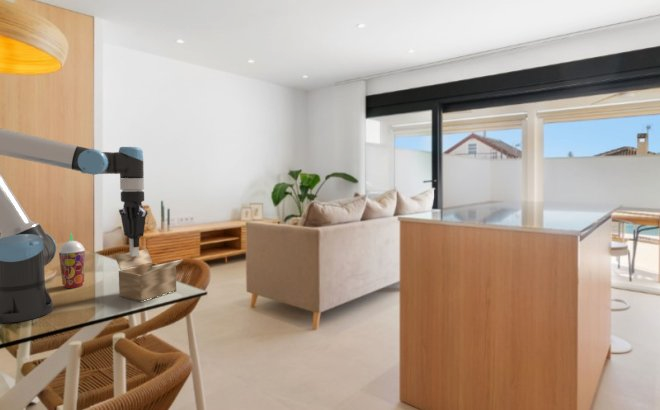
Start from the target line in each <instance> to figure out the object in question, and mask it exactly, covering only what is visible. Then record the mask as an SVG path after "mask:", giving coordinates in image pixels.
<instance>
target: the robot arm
mask: <svg viewBox="0 0 660 410" xmlns="http://www.w3.org/2000/svg"><path fill="white" fill-rule="evenodd" d="M143 153H144V152H143V150H142V148H140V147H136V146H121V147H119V149H118V151H116V152H115V151H114V152H110V151H108V152H107V151H101V150H98V149H93V148H88V147H83V146H78V145H75V144H71V143H70V144H69V143H65V142H61V141H57V140H54V139H53V140H52V139H48V138H44V137H41V136H40V137H39V136H36V135H31V134H27V133H23V132H22V133H21V132H18V131H14V130H9V129H5V128H0V156H3V157H9V158H14V159H19V160H24V161H29V162H34V163H39V164H43V165H47V166H54V167H57V168H63V169H67V170H73V171H76V172H80V173H81V174H88V175H108V174H111V175H113V174H115V175H116V174H117V175H119V180H120V181H119V183H120V184H119V186H120V190H121V191H120V202H122V203H123V208H122V209H118V212H119V215H120V218H121V223H122V224H121V225H122V228H123V235H124V237H127V238H128V246H129V252H130V256H131V257H134V256H139V251H140V238H141V237H144V233H145V227H146V219H147V218H146V217H147V215H148V210H144V209H143V203H142V202H144V201H145V191H144V189H145V187H144V186H145V183H144V174H145V173H144V155H143ZM13 192H14V191H12V188H10V186H9V184H8V183H7V181H6V179H4V177H3V176H2V174H1V173H0V324H8V323H19V322H24V321H29V320H34V319H37V318H40V317H43V316H45V315H48V314H50V313H51V312H52V311H53V309H54V302H53V300H52V299H53V298H52V297H51V296H50V294H49V291H48V289H47V286H46V281H45V278H46V277H45V274H46V273H45V266H47V265H49V264H50V263H51V262H52V261H53V259H54V258H55V255H56V253H57V243H56V241H55V239H54V238H53V237H52V236H51V235H49V234H48V233H46V232H45V231H44V229H43V227H42V226H41V224H40V223H38V222H34V221H32V220H31V219H30V217H29V215H28V214H27V213H26V211H25V209H24V207H23V206H22V205H21V203H20V202H19V200H18V198H17V197H16V196H15V194H14V193H13Z"/></svg>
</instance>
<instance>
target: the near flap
mask: <svg viewBox="0 0 660 410" xmlns="http://www.w3.org/2000/svg"><path fill="white" fill-rule="evenodd" d="M183 261H184V259H183V258H181V259H178V260H173V261H169V262H165V263H161V264H160V263H159V264H160V265H155V266H152V267H151V268H149V269H148V270H147V271H146V272H145V273H144V274H143V275H146V274H150V273H154V272H158V271H162V270H166V269H170V268H174V267H176V268H177V266H178V265H180V264H181V263H182V262H183Z"/></svg>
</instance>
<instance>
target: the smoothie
mask: <svg viewBox="0 0 660 410" xmlns="http://www.w3.org/2000/svg"><path fill="white" fill-rule="evenodd" d="M58 257H59V266H60V273H61V280H62V281H61V282H62V285H63V287H64V288H65V289H76V288H80V287H82V286H83V284H84V282H85V269H86V267H85V264H86V248H84V245H83V244H82V243H80V242H79V241H77V240H74V237H73V233H70V240H68V241H66V242H64V243H63V244H62V245H61V247H60V249H59V250H58Z"/></svg>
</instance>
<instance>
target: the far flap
mask: <svg viewBox="0 0 660 410" xmlns="http://www.w3.org/2000/svg"><path fill="white" fill-rule="evenodd" d="M114 258H115V259H116V263H117V265H118V268H119V271H121V270H126V269H130V268H134V267H139V266H143V265H148V264H152V263H153V260H152V257H151V255H150V254H149V250H148V249H141V250H140V249H139V256H134V257H131V256H130V251H129V252H125V253H120V254H114Z"/></svg>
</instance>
